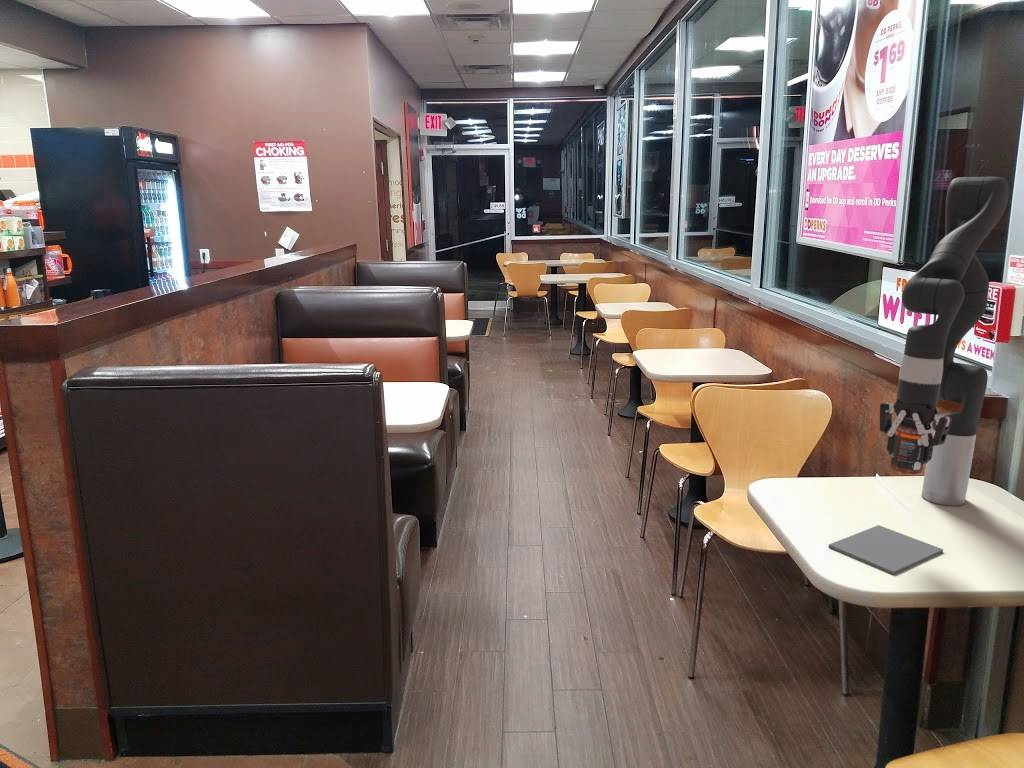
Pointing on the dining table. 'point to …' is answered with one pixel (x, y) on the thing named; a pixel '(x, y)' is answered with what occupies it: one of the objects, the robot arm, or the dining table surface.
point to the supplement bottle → (907, 448)
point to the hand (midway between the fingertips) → (907, 458)
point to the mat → (886, 549)
